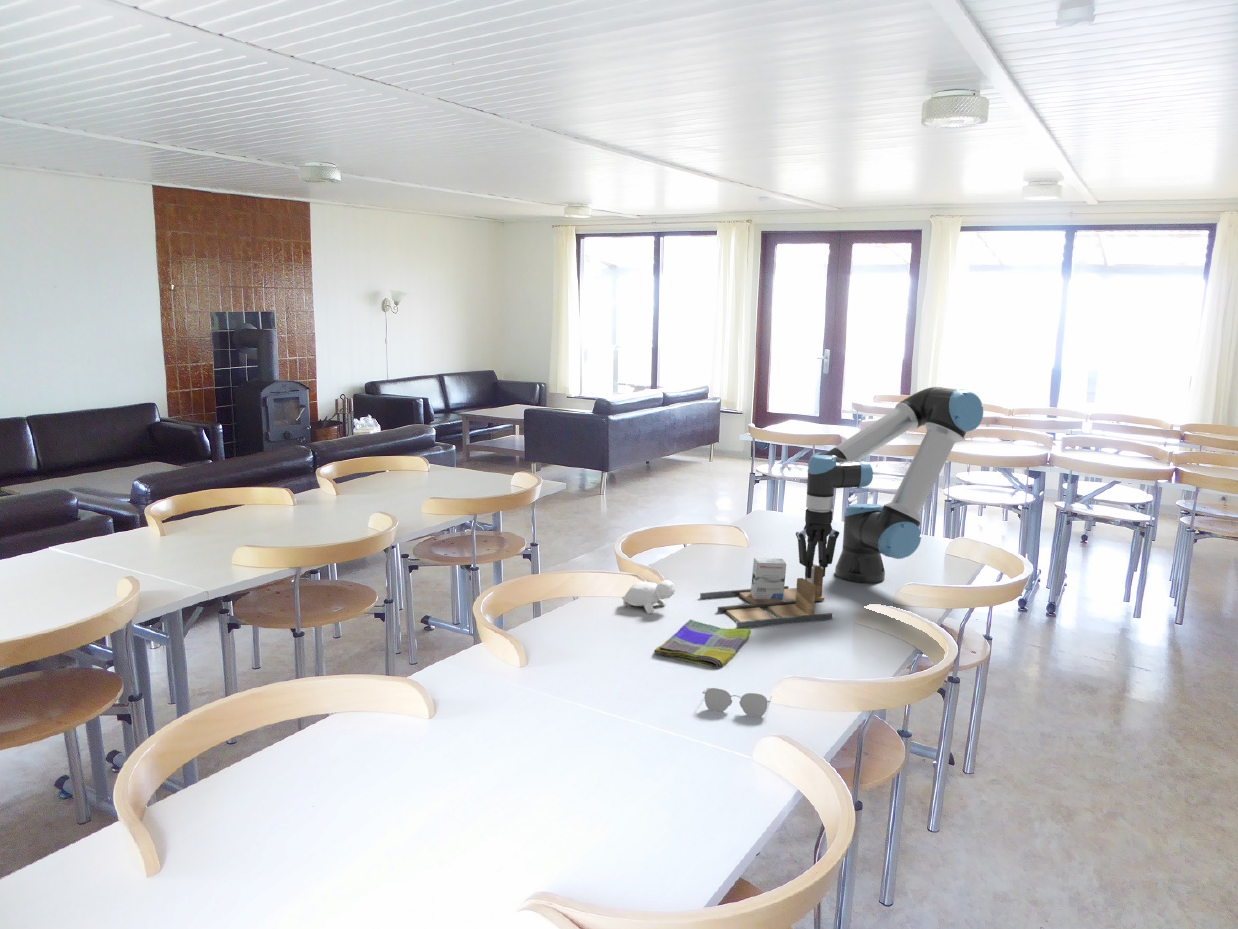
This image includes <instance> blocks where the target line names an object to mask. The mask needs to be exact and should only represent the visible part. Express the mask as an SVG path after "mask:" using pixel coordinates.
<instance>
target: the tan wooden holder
mask: <svg viewBox="0 0 1238 929" xmlns="http://www.w3.org/2000/svg"><path fill="white" fill-rule="evenodd" d="M816 565H817V564H815V563H813V566H812V567H814V568H815V571H814V585H815V601H814V602H820V601H821V602H823V601H825V597H824V596H823V586H824V585H823V582H824V577H823V570H824V569H822V568H820V567H818V566H816ZM804 579H805V580H807V577H805V576H804ZM796 590H797V587H793V588H791V587H790V588H788V589H784V593H783V599H754V598H753V597H752V595H751V592H743V593H739V597H741V598H743V599H744V600H745V601H746V602H747V603H748V604H754V603H766V602H777V601H788V600H796Z"/></svg>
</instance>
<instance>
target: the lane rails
mask: <svg viewBox="0 0 1238 929" xmlns="http://www.w3.org/2000/svg"><path fill="white" fill-rule="evenodd" d="M784 589H790V588H789V586H788V585H784ZM743 592H751V588H744V589H732V590H722V591H721V590H720V591H711V592H710V591H708V592H700V593H699V597H700V598H699V599H701V600H703V599H706V600H707V599H716V598H717V599H719V598H727V597H728V598H729V597H738V596H739V593H743ZM739 597H740V596H739ZM790 604H796V600H788V601H777V602H766V603H754V604H751V603H747V604H745V603H744V604H734V605H724V606H717V611H716V612H717V613H718V614H723V613H726V610H736V609H746V608H757V607H760V608H761V609H762V610H766V609H767V607H768V606H779V605H790ZM767 610H768V609H767ZM827 620H833V613H832V612H826V613H814V614H813V615H803V616H793V617H782V618H779V617H776V618H775V617H774V618H772V619H762V620H752V621H741V622H737V621H736V629H749V628H755V627H756V628H757V627H767V626H775V625H776V626H777V625H788V624H797V623H804V622H805V623H806V622H817V621H827Z"/></svg>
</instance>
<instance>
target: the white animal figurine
mask: <svg viewBox="0 0 1238 929" xmlns="http://www.w3.org/2000/svg"><path fill="white" fill-rule="evenodd" d="M675 587H676V586H675V585H674V583H673V582H672V581H671V580H669V579H668V580H667V579H664V580H661V581H660V582H659V583H656V582H649V581H638V582H636V583H634V584H633V585H631V586H630V588H629V589H628V591H627V592H626V593H625V594H624V596H622V597H621V599H622V601H623V602H622V603H623V605H624V607H627V605H628V604H629V605H631V606H634V607H644V610H645V612H646V613H647V614H648V615H649V614H650V615H651V614H653V613H654V611H655V609H654V606H653V605H655V604H656V603H657V604H658V605H659V606H661V607H666V606H667V602H666V601H665V600H664V599H669V598H671V597H672V596H673V595H675V592H676V588H675Z"/></svg>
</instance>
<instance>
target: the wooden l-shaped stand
mask: <svg viewBox="0 0 1238 929" xmlns="http://www.w3.org/2000/svg"><path fill="white" fill-rule="evenodd" d="M796 588H797V590H796V604H790V605H779V606H768V607H767V610H768V611H769V612H770V613H772V614H773V615H775V616H776V617H777V618H782V617H793V616H803V615H813V614H815V602H816V601H815V585H814V584H812V583H810V582H808V581H807V580H805V578H803V577H799V578H797V579H796ZM770 613H768V612H767V611H765V609H761V608H760V607H757V608H746V609H736V610H726V612H725V614H726V615H728V616H729V617H730V618H732V619H734V620H735V622H736V623H737V622H741V621H752V620H762V619H772V618H775V617H774V616H773V615H771V614H770Z"/></svg>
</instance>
